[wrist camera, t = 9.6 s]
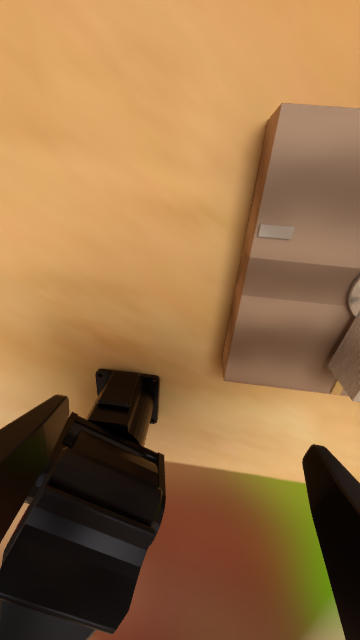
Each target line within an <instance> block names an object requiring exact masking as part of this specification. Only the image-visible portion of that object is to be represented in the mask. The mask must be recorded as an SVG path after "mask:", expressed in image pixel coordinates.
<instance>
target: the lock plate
mask: <svg viewBox="0 0 360 640" xmlns="http://www.w3.org/2000/svg"><path fill="white" fill-rule="evenodd" d="M359 274H360V108H346V107H332V106H318V105H304V104H290V103H282V104H281V105H280V106H279V107H278V108H277V110H276V111H275V112H274V113H273V115H272V116H271V117H270V118H269V119H268V123H267V129H266V134H265V139H264V144H263V149H262V154H261V159H260V165H259V170H258V175H257V180H256V185H255V190H254V196H253V201H252V206H251V211H250V216H249V221H248V226H247V232H246V237H245V242H244V247H243V252H242V257H241V263H240V268H239V273H238V278H237V283H236V288H235V293H234V299H233V304H232V309H231V314H230V319H229V324H228V329H227V335H226V340H225V345H224V350H223V355H222V368H223V378H224V381H229V382H237V383H245V384H253V385H262V386H270V387H278V388H286V389H294V390H302V391H310V392H318V393H326V394H334V395H342V396H349V395H348V394H347V393H346V391H345V390H344V389H343V387H342V386H341V384H340V383H339V382H338V380H337V379H336V377H335V376H334V375H333V373H332V372H331V371H330V369H329V368H328V366H327V365H328V364H329V362H330V360H331V359H332V357H333V355H334V353H335V352H336V350H337V348H338V347H339V345H340V343H341V342H342V340H343V338H344V336H345V335H346V333H347V331H348V330H349V328H350V326H351V325H352V323H353V321H354V319H355V318H356V317H355V316H353V315H352V314H351V312H350V311H349V309H348V307H347V302H346V297H347V292H348V289H349V287H350V285H351V283H352V282H353V280H354V279H355V278H356V277H357V276H358V275H359Z"/></svg>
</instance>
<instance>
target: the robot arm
mask: <svg viewBox="0 0 360 640" xmlns="http://www.w3.org/2000/svg"><path fill="white" fill-rule="evenodd" d="M100 373H101V374H102V375H101V374H100ZM153 380H156V381H153ZM96 384H97V394H98V398H97V399H96V401H95V403H94V405H93V407H92V409H91V411H90V413H89V414H88V416H87V418H86V419H84V418H81V417H79V416H78V414H76V413H74V412H72V413H71V415H70V416H69V400H68V397H67V396H63V395H55V396H53V397H51V398H50V399H48V400H46V401H45V402H43V403H42V404H40V405H38V406H37V407H35V408H34V409H32V410H30V411H29V412H27V413H26V414H24V415H22V416H21V417H19V418H18V419H16V420H14V421H13V422H11V423H10V424H8V425H6V426H5V427H3V428H2V429H0V543H1V541H2V539H3V537H4V536H5V534H6V532H7V530H8V529H9V527H10V525H11V524H12V522H13V520H14V518H15V517H16V515H17V513H18V512H19V510H20V508H21V507H22V505H23V503H28V504H29V506H28V508H27V509H26V511H25V513H24V515H23V516H22V518H21V520H20V521H19V523H18V525H17V527H16V529H15V531H14V533H13V535H12V537H11V538H10V540H9V542H8V544H7V546H6V548H5V550H4V554H3V560H2V566H1V569H0V640H88V639H89V638H90V637H91V636H92V635H93V634H94V632H96V631H97V630H99V631H102V632H105V633H108V634H113V633H114V632H115V631H116V629H117V628H118V626H119V625H120V623H121V622H122V620H123V619H124V617H125V616H126V614H127V612H128V610H129V607H130V604H131V600H132V597H133V593H134V589H135V586H136V582H137V579H138V575H139V572H140V568H141V566H142V563H143V560H144V557H145V555H146V552H147V549H148V547H149V546H150V545H151V543H152V542H153V540H154V538H155V536H156V534H157V532H158V529H159V527H160V524H161V521H162V517H163V513H164V508H165V499H166V496H165V495H166V493H165V470H164V469H165V468H164V455H163V454H161V453H159V452H158V453H156V452H154V451H152V450H150V449H147V448H145V447H144V444H145V440H146V436H147V432H148V427H149V423H152V424H155V423H157V420H158V406H159V387H160V378H159V377H158V376H155V375H147V374H139V373H131V372H123V371H115V370H107V369H98V371H97V372H96ZM68 416H69V418H68ZM302 464H303V470H304V476H305V481H306V487H307V493H308V498H309V504H310V509H311V513H312V517H313V521H314V525H315V528H316V532H317V536H318V539H319V543H320V547H321V550H322V554H323V558H324V562H325V565H326V569H327V572H328V576H329V580H330V584H331V587H332V591H333V595H334V598H335V602H336V605H337V609H338V613H339V617H340V620H341V624H342V627H343V631H344V635H345V639H346V640H360V483H359V482H358V481H357V480H356V479H355V478H354V477H353V476H352V475H351V473H350V472H349V471H348V470H347V469H346V468H345V467H344V466H343V465H342V464H341V463H340V462H339V461H338V460H337V459H336V458H335V457H334V456H333V455H332V454H331V452H330V451H329V450H328V449H327V448H325V447H324V446H320V445H315V444H313V445H311V446H310V448H309V449H308V451H307V452H306V454H305V456H304V457H303V461H302Z"/></svg>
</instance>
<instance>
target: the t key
mask: <svg viewBox="0 0 360 640" xmlns="http://www.w3.org/2000/svg"><path fill="white" fill-rule="evenodd" d="M346 302H347V307H348V309H349V311H350V312H351V314H352V315H353V316H355V317H356V318H355V319H354V321H353V323H352V325H351V326H350V328H349V330H348V331H347V333H346V335H345V336H344V338H343V340H342V342H341V343H340V345H339V347H338V348H337V350H336V352H335V353H334V355H333V357H332V359H331V360H330V362H329V364H328V365H327V366H328V368H329V369H330V371H331V372H332V373H333V375H334V376H335V377H336V379H337V380H338V382H339V383H340V384H341V386H342V387H343V389H344V390H345V391H346V393H347V394H348V395H349V397H350V398H351V400H352V401H355V402H360V274H359V275H358V276H357V277H356V278H355V279H354V280H353V282H352V283H351V285H350V287H349V289H348V292H347V297H346Z"/></svg>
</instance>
